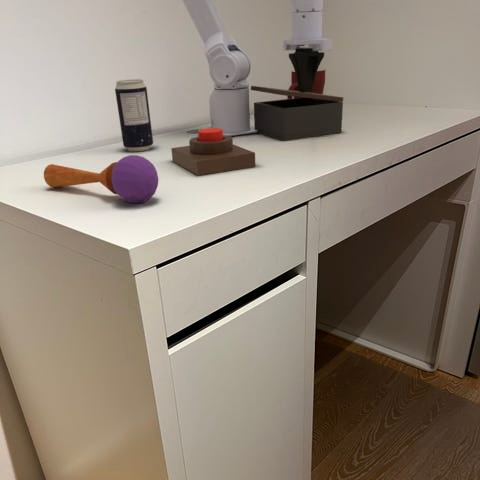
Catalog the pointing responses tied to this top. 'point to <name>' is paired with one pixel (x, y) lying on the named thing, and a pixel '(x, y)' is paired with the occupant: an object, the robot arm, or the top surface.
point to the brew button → (210, 134)
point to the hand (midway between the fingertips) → (305, 91)
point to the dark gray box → (298, 118)
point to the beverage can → (134, 114)
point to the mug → (317, 85)
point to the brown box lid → (296, 93)
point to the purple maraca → (111, 178)
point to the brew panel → (212, 156)
